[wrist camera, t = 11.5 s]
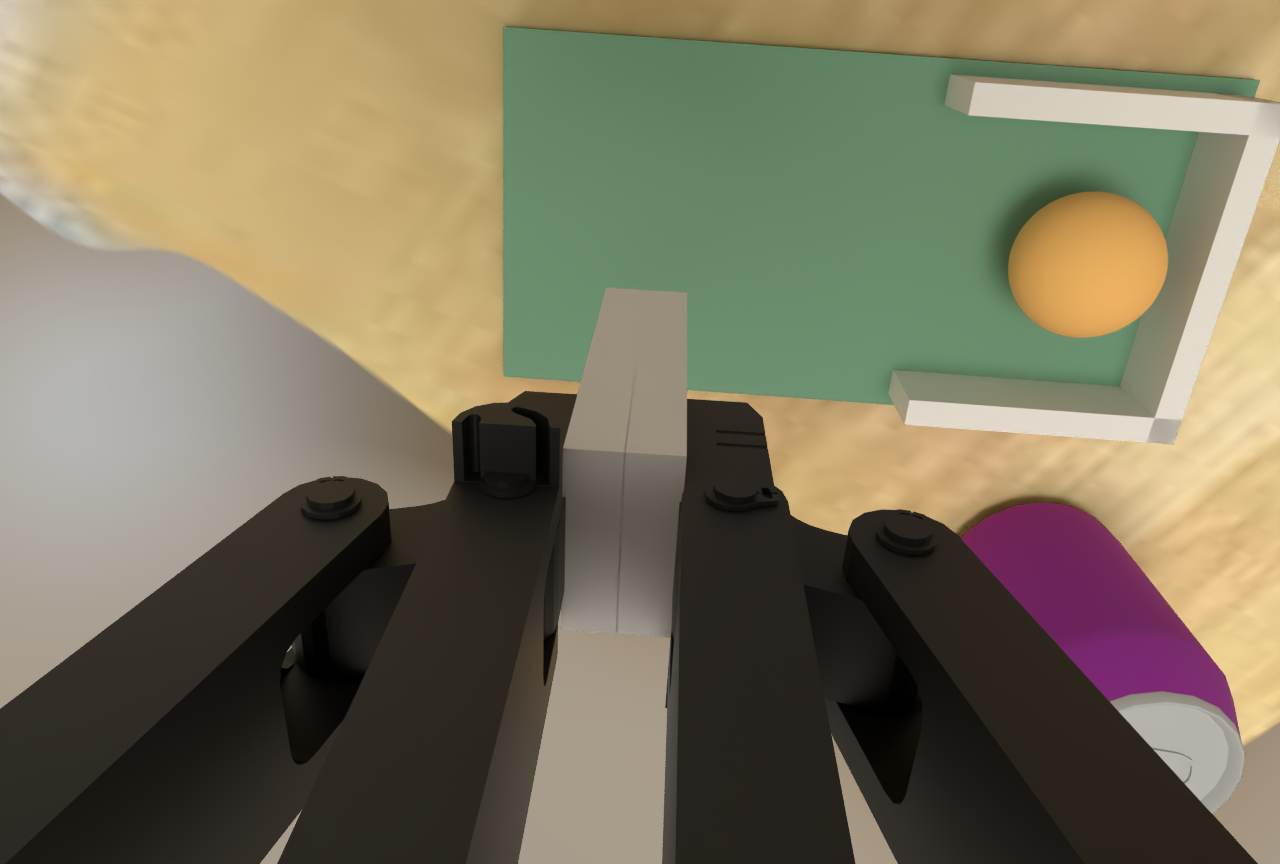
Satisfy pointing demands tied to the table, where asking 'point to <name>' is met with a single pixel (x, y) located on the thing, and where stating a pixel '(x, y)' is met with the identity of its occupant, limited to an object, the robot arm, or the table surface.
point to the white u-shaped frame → (1195, 281)
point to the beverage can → (1119, 637)
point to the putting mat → (801, 209)
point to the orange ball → (1088, 264)
